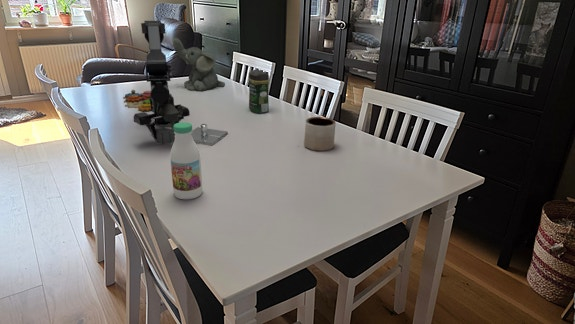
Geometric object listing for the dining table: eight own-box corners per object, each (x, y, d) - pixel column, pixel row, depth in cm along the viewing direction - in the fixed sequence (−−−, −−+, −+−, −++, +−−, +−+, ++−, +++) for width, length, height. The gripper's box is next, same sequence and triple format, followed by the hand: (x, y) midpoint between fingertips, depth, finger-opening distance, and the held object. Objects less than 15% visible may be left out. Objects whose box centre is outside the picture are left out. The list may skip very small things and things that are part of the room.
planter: (336, 143, 144) (338, 118, 140) (329, 153, 135) (332, 128, 131) (308, 139, 147) (310, 115, 143) (300, 149, 138) (301, 123, 134)
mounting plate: (180, 140, 141) (179, 128, 139) (197, 129, 153) (197, 117, 151) (212, 145, 138) (211, 132, 136) (227, 133, 149) (227, 121, 147)
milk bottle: (176, 186, 109) (170, 119, 101) (204, 186, 110) (199, 119, 102) (171, 200, 102) (163, 129, 94) (201, 200, 103) (196, 129, 95)
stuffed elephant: (174, 89, 208) (170, 37, 197) (197, 82, 226) (194, 34, 214) (204, 94, 201) (201, 40, 190) (225, 86, 219) (224, 36, 208)
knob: (151, 142, 139) (150, 128, 137) (162, 136, 144) (161, 123, 142) (167, 145, 137) (166, 131, 135) (178, 138, 143) (176, 125, 141)
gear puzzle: (164, 111, 174) (163, 102, 172) (126, 115, 168) (125, 106, 166) (156, 94, 200) (155, 87, 198) (122, 97, 193) (121, 89, 192)
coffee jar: (246, 109, 180) (245, 69, 172) (261, 107, 184) (261, 67, 176) (256, 114, 172) (255, 73, 165) (271, 112, 176) (271, 71, 169)
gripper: (144, 105, 123) (149, 150, 129) (196, 96, 134) (198, 138, 141) (130, 97, 130) (136, 140, 136) (180, 89, 142) (183, 129, 148)
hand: (164, 137), depth 140 cm, fingers closed on knob, 7 cm apart
